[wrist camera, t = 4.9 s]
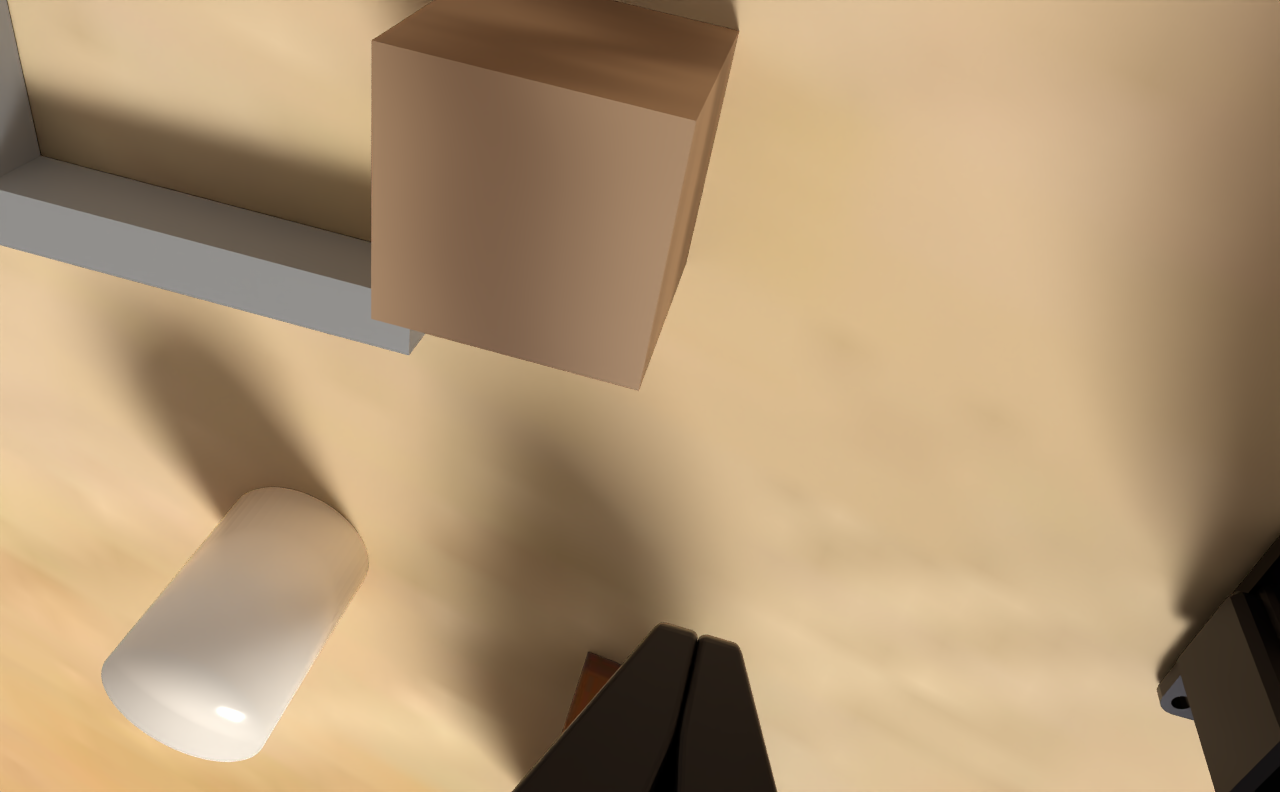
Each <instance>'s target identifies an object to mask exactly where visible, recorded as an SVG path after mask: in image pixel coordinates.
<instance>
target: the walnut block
mask: <svg viewBox="0 0 1280 792" xmlns="http://www.w3.org/2000/svg"><path fill="white" fill-rule="evenodd" d="M738 34H739V31H738V30H733V29H729V28H725V27H721V26H717V25H713V24H708V23H704V22H700V21H696V20H692V19H688V18H684V17H679V16H675V15H671V14H667V13H663V12H659V11H654V10H650V9H646V8H642V7H638V6H634V5H630V4H625V3H621V2H617V1H613V0H434V1H433V2H431V3H429V4H428V5H426V6H425V7H423V8H422V9H420V10H418V11H417V12H415V13H414V14H412V15H411V16H409V17H408V18H406V19H404V20H403V21H401V22H400V23H398V24H397V25H395V26H393V27H392V28H390V29H389V30H387V31H386V32H384V33H382V34H381V35H379V36H378V37H376V38H375V39H373V40H372V120H371V319H374V320H377V321H381V322H385V323H389V324H392V325H396V326H400V327H403V328H407V329H411V330H415V331H418V332H422V333H426V334H429V335H433V336H437V337H441V338H444V339H448V340H452V341H455V342H459V343H463V344H467V345H470V346H474V347H478V348H482V349H485V350H489V351H493V352H496V353H500V354H504V355H508V356H511V357H515V358H519V359H522V360H526V361H530V362H534V363H537V364H541V365H545V366H548V367H552V368H556V369H560V370H563V371H567V372H571V373H575V374H578V375H582V376H586V377H589V378H593V379H597V380H601V381H604V382H608V383H612V384H615V385H619V386H623V387H627V388H630V389H634V390H638V391H639V389H640V386H641V383H642V381H643V378H644V375H645V372H646V370H647V367H648V364H649V362H650V359H651V356H652V354H653V351H654V348H655V346H656V343H657V340H658V338H659V335H660V332H661V329H662V327H663V324H664V321H665V319H666V316H667V313H668V311H669V308H670V305H671V303H672V300H673V297H674V295H675V292H676V289H677V287H678V284H679V281H680V278H681V276H682V273H683V270H684V268H685V265H686V262H687V257H688V253H689V249H690V244H691V240H692V235H693V231H694V227H695V222H696V218H697V214H698V209H699V205H700V200H701V196H702V192H703V187H704V183H705V178H706V174H707V170H708V165H709V161H710V157H711V152H712V148H713V143H714V139H715V135H716V130H717V126H718V121H719V117H720V113H721V108H722V104H723V100H724V95H725V91H726V86H727V82H728V78H729V73H730V69H731V65H732V60H733V56H734V51H735V47H736V43H737V38H738Z"/></svg>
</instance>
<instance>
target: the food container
mask: <svg viewBox="0 0 1280 792" xmlns="http://www.w3.org/2000/svg"><path fill="white" fill-rule="evenodd" d="M620 666H621V665H620V664H618V663H616V662H614V661H611V660H608V659H606V658H603V657H601V656H598V655H595V654H593V653H590V652H588V654H587V657H586V660H585V663H584V667H583V670H582V673H581V676H580V679H579V682H578V685H577V688H576V691H575V694H574V697H573V701H572V704H571V707H570V710H569V713H568V716H567V719H566V722H565V725H564V728H563V731H562V733H563V732H564V731H565V730H566V729H567V728H568V726H569V725H570V724H571V723H572V722H573V721H574V719H575V718H576V717H577V716H578V715H579V714H580V713H581V711H582V710H583V709H584V708H585V707H586V706H587V705H588V703H589V702H590V701H591V700H592V699H593V698H594V696H595V695H596V694H597V693H598V692H599V691H600V690H601V688H602V687H603V686H604V685H605V684H606V683H607V681H608V680H609V679H610V678H611V677H612V676H613V675H614V673H615V672H616V671H617V670H618V669H619V668H620Z"/></svg>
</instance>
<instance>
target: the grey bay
mask: <svg viewBox="0 0 1280 792" xmlns="http://www.w3.org/2000/svg"><path fill="white" fill-rule="evenodd" d="M0 245H2V246H6V247H9V248H13V249H17V250H20V251H24V252H28V253H31V254H35V255H39V256H43V257H46V258H50V259H54V260H57V261H61V262H65V263H69V264H72V265H76V266H80V267H83V268H87V269H91V270H94V271H98V272H102V273H106V274H109V275H113V276H117V277H120V278H124V279H128V280H132V281H135V282H139V283H143V284H146V285H150V286H154V287H157V288H161V289H165V290H169V291H172V292H176V293H180V294H183V295H187V296H191V297H194V298H198V299H202V300H206V301H209V302H213V303H217V304H220V305H224V306H228V307H232V308H235V309H239V310H243V311H246V312H250V313H254V314H257V315H261V316H265V317H269V318H272V319H276V320H280V321H283V322H287V323H291V324H295V325H298V326H302V327H306V328H309V329H313V330H317V331H320V332H324V333H328V334H332V335H335V336H339V337H343V338H346V339H350V340H354V341H358V342H361V343H365V344H369V345H372V346H376V347H380V348H383V349H387V350H391V351H395V352H398V353H402V354H406V355H410V353H411V352H412V351H413V349H414V348H415V347H416V345H417V344H418V342H419V341H420V340H421V338H422V337H423V336H424V334H425V333H422V332H418V331H415V330H411V329H407V328H403V327H400V326H396V325H392V324H389V323H385V322H381V321H377V320H374V319H371V242H368V241H364V240H360V239H356V238H352V237H349V236H345V235H341V234H337V233H333V232H330V231H326V230H322V229H318V228H314V227H311V226H307V225H303V224H299V223H295V222H291V221H288V220H284V219H280V218H276V217H272V216H269V215H265V214H261V213H257V212H253V211H250V210H246V209H242V208H238V207H234V206H231V205H227V204H223V203H219V202H215V201H211V200H208V199H204V198H200V197H196V196H192V195H189V194H185V193H181V192H177V191H173V190H170V189H166V188H162V187H158V186H154V185H150V184H147V183H143V182H139V181H135V180H131V179H128V178H124V177H120V176H116V175H112V174H109V173H105V172H101V171H97V170H93V169H89V168H86V167H82V166H78V165H74V164H70V163H67V162H63V161H59V160H55V159H51V158H48V157H44V156H41V155H40V151H39V146H38V142H37V137H36V133H35V128H34V123H33V119H32V114H31V110H30V105H29V101H28V96H27V91H26V87H25V82H24V78H23V73H22V69H21V64H20V60H19V55H18V50H17V46H16V41H15V37H14V32H13V28H12V23H11V18H10V14H9V9H8V5H7V0H0Z"/></svg>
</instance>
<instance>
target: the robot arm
mask: <svg viewBox="0 0 1280 792" xmlns="http://www.w3.org/2000/svg"><path fill="white" fill-rule="evenodd" d="M697 639H698V637H697V634H696V633H695V632H694V631H692V630H690V629H686V628H683V627H679V626H676V625H672V624H669V623H664V622H663V623H660V624H658V625H657V626H655V627H654V629H653V630H652V631H651V632H650V633H649V634H648V635H647V637H646V638H645V639H644V640H643V641H642V642H641V643H640V645H639V646H638V647H637V648H636V649H635V650H634V652H633V653H632V654H631V655H630V656H629V657H628V658H627V660H626V661H625V662H624V663H623V664H622V665H621V666H620V668H619V669H618V670H617V671H616V672H615V673H614V675H613V676H612V677H611V678H610V679H609V680H608V681H607V683H606V684H605V685H604V686H603V687H602V688H601V690H600V691H599V692H598V693H597V694H596V695H595V696H594V698H593V699H592V700H591V701H590V702H589V703H588V705H587V706H586V707H585V708H584V709H583V710H582V711H581V713H580V714H579V715H578V716H577V717H576V718H575V719H574V721H573V722H572V723H571V724H570V725H569V726H568V728H567V729H566V730H565V731H564V732H563V733H562V734H561V736H560V737H559V738H558V739H557V740H556V741H555V743H554V744H553V745H552V746H551V747H550V748H549V749H548V751H547V752H546V753H545V754H544V755H543V756H542V757H541V759H540V760H539V761H538V762H537V763H536V764H535V766H534V767H533V768H532V769H531V770H530V771H529V772H528V774H527V775H526V776H525V777H524V778H523V779H522V781H521V782H520V783H519V784H518V785H517V786H516V787H515V789H514V790H513V791H512V792H777V789H776V785H775V781H774V777H773V773H772V769H771V765H770V761H769V758H768V754H767V750H766V746H765V742H764V738H763V734H762V730H761V726H760V722H759V718H758V714H757V710H756V706H755V702H754V698H753V695H752V691H751V687H750V683H749V679H748V675H747V671H746V667H745V663H744V659H743V655H742V652H741V650H740V647H739V646H738V645H737V644H736V643H734V642H731V641H727V640H724V639H720V638H717V637H714V636H710V635H702V636H700V637H699V639H698V641H697ZM1157 693H1158V697H1159V701H1160V704H1161V707H1162V708H1163V709H1164V710H1165V711H1166V712H1168V713H1170V714H1173V715H1176V716H1180V717H1184V718H1187V719H1191V720H1194V722H1195V725H1196V728H1197V732H1198V735H1199V738H1200V742H1201V745H1202V749H1203V752H1204V755H1205V759H1206V762H1207V765H1208V769H1209V772H1210V775H1211V779H1212V782H1213V785H1214V789H1215V792H1280V536H1279V537H1278V538H1277V540H1276V541H1275V542H1274V543H1273V545H1272V546H1271V547H1270V548H1269V550H1268V551H1267V552H1266V553H1265V554H1264V556H1263V557H1262V558H1261V559H1260V561H1259V562H1258V563H1257V564H1256V566H1255V567H1254V568H1253V569H1252V570H1251V572H1250V573H1249V574H1248V575H1247V577H1246V578H1245V579H1244V580H1243V582H1242V583H1241V584H1240V585H1239V586H1238V588H1237V589H1236V590H1235V591H1234V593H1233V594H1232V595H1230V596H1229V597H1227V598H1226V600H1225V601H1224V602H1223V603H1222V605H1221V606H1220V607H1219V608H1218V609H1217V611H1216V612H1215V613H1214V614H1213V616H1212V617H1211V618H1210V619H1209V621H1208V622H1207V623H1206V624H1205V625H1204V627H1203V628H1202V629H1201V630H1200V632H1199V633H1198V634H1197V635H1196V637H1195V638H1194V639H1193V640H1192V642H1191V643H1190V644H1189V645H1188V646H1187V648H1186V649H1185V650H1184V651H1183V653H1182V654H1181V655H1180V656H1179V658H1178V659H1177V663H1176V664H1175V665H1174V666H1173V668H1172V669H1171V670H1170V671H1169V673H1168V674H1167V675H1166V676H1165V678H1164V679H1163V680H1162V681H1161V682H1160V684H1159V685H1158V688H1157ZM1179 696H1180V697H1179Z"/></svg>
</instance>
